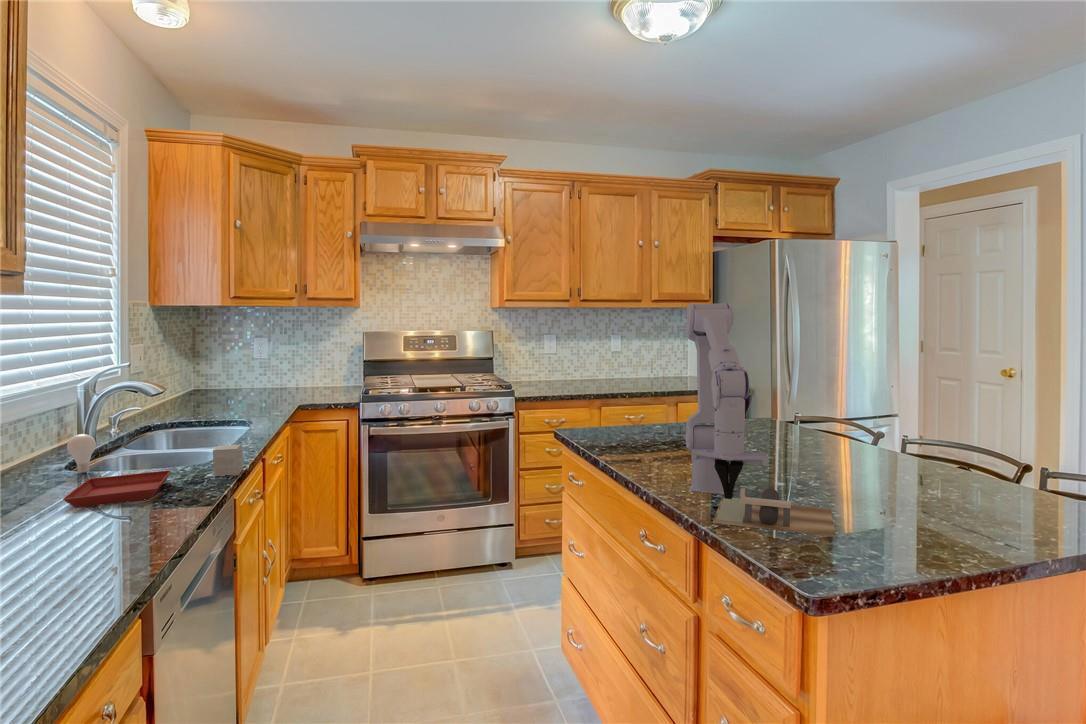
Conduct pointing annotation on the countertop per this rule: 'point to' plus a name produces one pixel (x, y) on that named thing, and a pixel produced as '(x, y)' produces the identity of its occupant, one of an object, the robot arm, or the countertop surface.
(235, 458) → the product box
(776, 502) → the beige l-shaped block
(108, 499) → the plant saucer
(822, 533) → the board
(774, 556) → the countertop surface
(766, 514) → the dark grey rod
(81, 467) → the lightbulb
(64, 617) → the countertop surface
